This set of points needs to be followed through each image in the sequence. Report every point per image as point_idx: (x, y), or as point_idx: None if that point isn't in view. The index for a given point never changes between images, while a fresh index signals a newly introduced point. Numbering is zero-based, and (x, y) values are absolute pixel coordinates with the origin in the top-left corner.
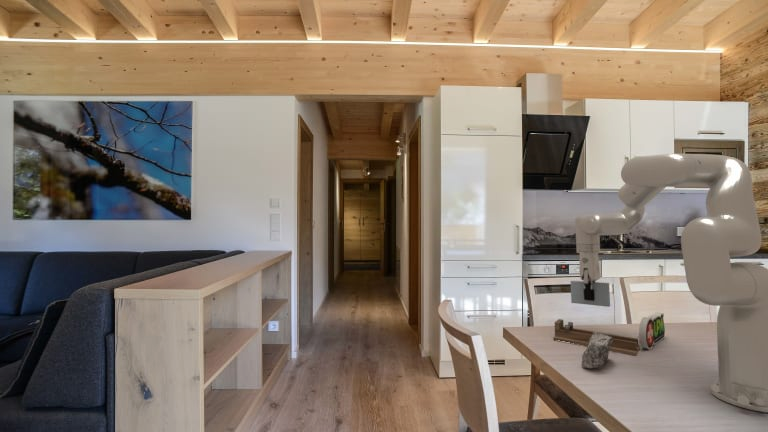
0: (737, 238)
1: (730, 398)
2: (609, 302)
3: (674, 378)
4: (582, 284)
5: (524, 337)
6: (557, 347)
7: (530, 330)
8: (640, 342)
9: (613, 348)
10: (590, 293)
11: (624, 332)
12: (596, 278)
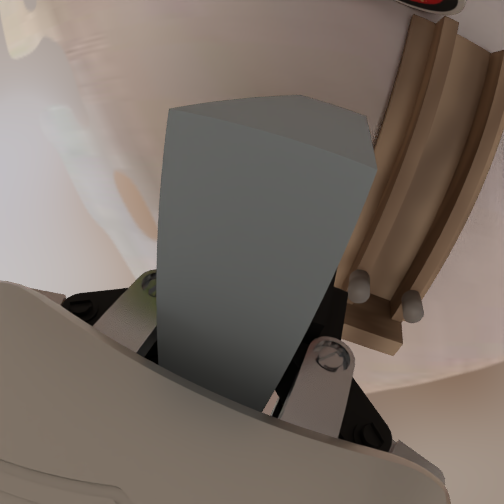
0: None
1: None
2: (324, 104)
3: None
4: None
5: (389, 377)
6: (477, 311)
7: None
8: (443, 13)
9: (500, 137)
10: (342, 323)
11: (172, 41)
12: (357, 489)
